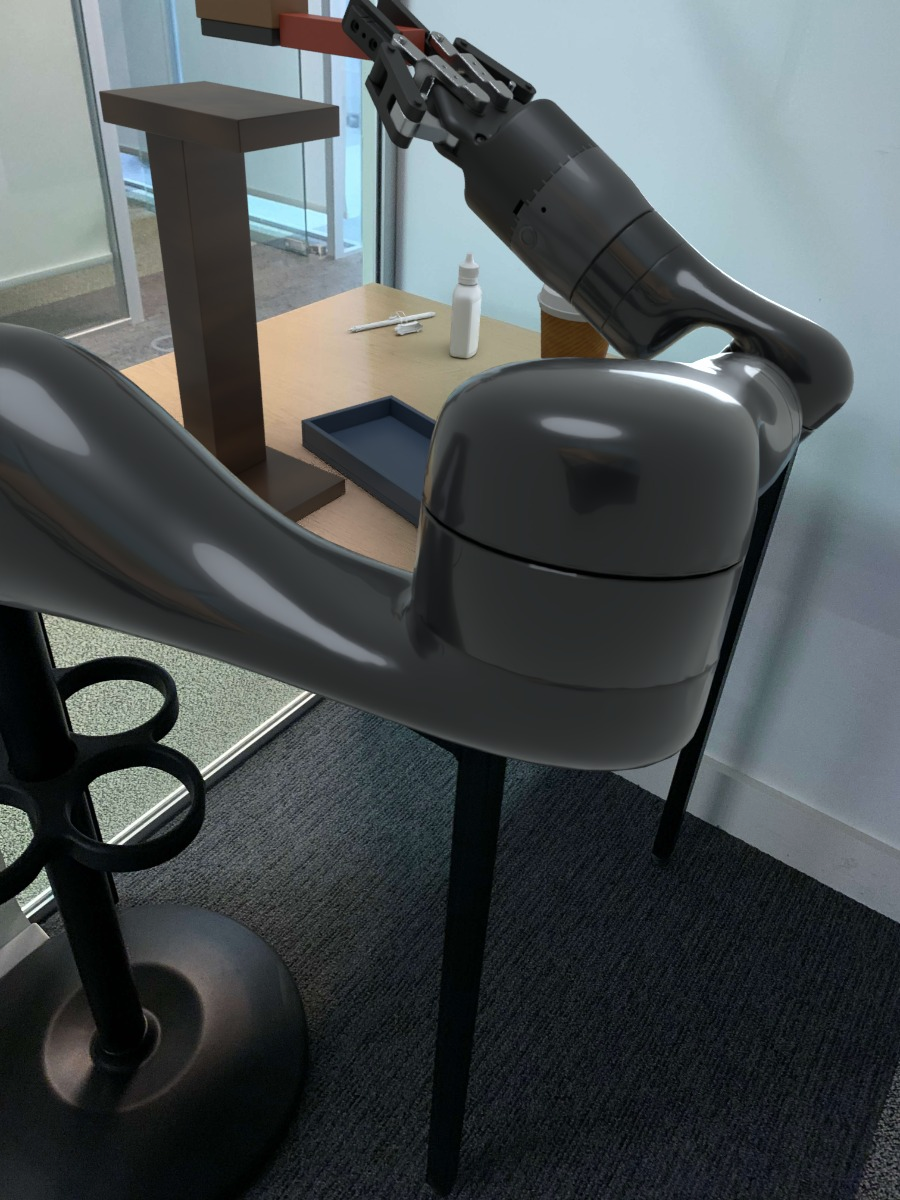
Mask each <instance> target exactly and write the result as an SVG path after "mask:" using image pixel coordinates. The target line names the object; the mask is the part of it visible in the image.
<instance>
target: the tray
mask: <svg viewBox="0 0 900 1200" xmlns="http://www.w3.org/2000/svg"><path fill="white" fill-rule="evenodd" d="M300 423H301V445H302V447H304V448H305V449H307V450H308V451H310V452H311V453H312V454H313V455H315V456H316V457H318V458H319V459H321V460H322V461H323V462H325V463H326V464H328V465H329V466H331V467H332V468H333V469H335V470H337V471H338V472H339V473H340V474H342V475H343V476H344V477H346V478H347V479H349V480H350V481H351V482H353V483H354V484H355V485H356V486H357V485H358V486H359V487H360V488H361V489H363V490H364V491H366V492H367V493H369V494H370V495H372V496H373V497H374V498H375V499H377V500H378V501H379V502H381V503H383V504H384V505H385V506H387V507H388V508H390V509H391V510H393V512H394V513H397V514H398V515H400V516H401V517H402V518H404V519H405V520H406V521H408V522H410V523H411V524H412V525H414V526H415V527H416V528H418V526H419V517H420V508H421V500H422V498H423V497H422V493H423V489H424V476H425V469H426V461H427V455H428V451H429V446H430V441H431V437H432V434H433V430H434V426H435V423H436V420H435V419H433V418H432V417H431V416H428V415H426V414H425V413H423V412H421V410H418V409H417V408H415V407H413V406H411V405H410V404H408V403H406V402H405V401H404V400H401V399H399V398H398V397H396V396H394V395H392V394H390V395H387V396H383V397H380V398H375V399H372V400H368V401H365V402H361V403H358V404H355V405H351V406H347V407H343V408H340V409H337V410H333V411H329V412H326V413H323V414H319V415H316V416H315V415H314V416H312V417H309V418H308V417H307V418H305V419H301V421H300Z"/></svg>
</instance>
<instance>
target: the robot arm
mask: <svg viewBox="0 0 900 1200" xmlns="http://www.w3.org/2000/svg"><path fill="white" fill-rule="evenodd" d="M396 26H402V27H410V28H417V29H424V30H425V42H424V53H423V52H421V51H420V50H419V49H418V48H417V47H416V46H415V45H414V44H413V43H412V42H410V41H409V40H408V39H407V38H406V37H405V36H403V35H402V33H401V32H400V31H399V29H398V28H397V27H396ZM342 29H343V31H344V33H345V34H346V35H347V36H348V37H349V38H350V39H351V40H352V41H353V42H354V43H355V44H356V45H357V46H358V47H359V48H360V49H361V50H362V51H363V52H364V53H365V54H366V55H367V56H368V57H369V58H370V59H371V60H372V61H371V62H372V63H373V64H372V67H371V69H370V72H369V74H368V75H367V77H366V79H365V82H364V86H365V88H366V90H367V92H368V94H369V97H370V99H371V101H372V103H373V105H374V107H375V110H376V111H377V114H378V116H379V118H380V121H381V122H382V125H383V127H384V129H385V131H386V134H387V136H388V137H389V140H390V141H391V143H392V144H393V145H394V146H396V147H398V148H400V149H403V150H407V149H409V147H410V146H411V143H412V141H413V139H414V138H415V139H418V140H423V141H427V142H431V143H432V146H433V147H434V149H435V150H436V152H437V153H438V154H439V155H440V156H441V157H443V158H445V159H446V160H448V161H449V162H451V163H452V164H454V165H455V166H457V168H459V169H461V171H462V173H463V179H464V189H463V197H464V201H465V204H466V205H467V207H468V208H469V209H470V210H471V211H472V212H473V214H475V215H476V217H477V218H479V220H480V221H481V222H482V223H484V225H485V226H486V227H487V228H488V229H490V231H491V232H492V233H493V234H494V235H495V236H496V237H497V238H498V239H499V240H500V241H501V242H502V243H503V244H504V245H505V246H506V248H508V250H510V251H511V252H512V253H513V254H514V255H515V256H516V258H518V259H519V260H520V262H522V263H523V264H524V266H525V267H527V268H528V269H529V270H530V272H532V274H533V275H535V277H537V278H538V280H540V281H541V282H542V283H543V284H546V285H547V286H548V287H549V288H551V289H552V290H553V291H555V292H556V293H557V294H559V295H560V296H561V297H563V298H564V299H565V300H566V301H567V302H568V303H569V304H571V305H572V307H573V308H574V309H575V310H576V311H577V312H578V313H579V314H580V315H581V316H582V317H583V318H584V319H585V320H586V321H587V322H588V323H589V324H590V325H591V326H592V327H593V328H594V329H595V330H596V331H597V332H598V333H599V334H600V335H601V336H602V337H603V338H604V339H605V340H606V341H607V342H608V343H609V347H611V348H612V349H613V350H615V352H617V353H618V354H619V355H620V356H621V357H622V358H616V357H615V358H614V357H605V358H588V357H555V358H541V357H539V358H532V359H525V360H520V361H513V362H508V363H504V364H499V365H497V366H492V367H490V368H488V369H486V370H484V371H481V372H479V373H477V374H475V375H472V376H470V377H469V378H468V379H466V380H464V381H463V382H462V383H460V385H458V386H457V387H455V388H454V390H453V391H452V392H451V393H450V394H449V395H448V396H447V398H446V399H445V400H444V402H443V404H442V406H441V408H440V410H439V412H438V415H437V417H436V420H435V421H436V423H435V426H434V430H433V434H432V437H431V441H430V446H429V451H428V455H427V461H426V469H425V476H424V489H423V493H422V497H423V498H422V500H421V508H420V517H419V526H418V527H417V535H416V545H415V555H414V563H413V571H410V570H408V569H404V568H401V567H398V566H395V565H391V564H388V563H385V562H383V561H381V560H377V559H375V558H372V557H370V556H367V555H366V554H365V555H364V554H362V553H359V552H358V551H355V550H352V549H349V548H348V547H345V546H343V545H340V544H338V543H335V542H332V540H328V539H326V538H324V537H322V536H321V535H319V534H316V533H315V532H314V531H311V530H309V529H307V528H305V527H304V526H302V525H301V524H299V523H298V522H297V521H296V522H294V521H293V520H291V519H290V518H288V517H286V516H285V515H283V514H282V513H281V512H279V511H278V510H276V509H275V508H274V507H272V506H271V505H270V504H268V503H267V502H265V501H264V500H263V499H261V498H260V497H259V496H258V495H257V494H256V493H255V492H253V491H252V490H251V489H250V488H249V487H248V486H246V485H245V484H244V483H243V482H242V481H241V480H239V479H238V478H237V477H236V476H235V475H234V474H233V473H232V472H231V471H230V470H229V469H227V468H226V467H225V466H224V465H223V464H222V463H221V462H220V461H219V460H218V459H217V458H216V457H215V456H214V455H213V454H212V453H210V452H209V451H208V450H207V449H206V448H205V447H204V446H203V445H202V444H201V443H200V442H199V441H198V440H197V439H196V438H195V437H194V436H193V435H191V434H190V433H189V432H188V431H187V430H186V429H185V428H184V425H182V424H181V423H180V422H179V421H178V420H177V418H175V417H174V416H173V415H172V414H170V413H169V411H167V410H166V409H165V408H164V407H163V406H162V405H161V404H159V403H158V402H157V401H156V400H155V399H154V398H152V397H151V396H150V395H149V394H148V393H147V392H145V390H143V389H142V388H141V387H140V386H139V385H138V384H136V383H135V382H134V381H133V380H131V379H130V378H129V377H128V376H126V375H125V374H124V373H123V372H121V371H120V370H119V369H118V368H116V367H115V366H113V365H111V364H110V363H108V362H107V361H105V360H104V359H103V358H101V357H100V356H98V355H97V354H95V353H93V352H92V351H90V350H88V349H87V348H86V347H83V346H81V345H79V344H78V343H77V342H75V341H73V340H71V339H68V338H65V337H63V336H60V335H57V334H54V333H51V332H48V331H45V330H41V329H38V328H35V327H29V326H24V325H19V324H15V323H9V322H1V321H0V605H2V606H7V607H11V608H16V609H21V610H25V611H31V612H35V613H40V614H43V615H47V616H50V617H51V616H52V617H56V618H60V619H64V620H69V621H73V622H77V623H81V624H85V625H88V626H93V627H97V628H100V629H104V630H107V631H112V632H115V633H119V634H122V635H126V636H131V637H133V638H138V639H141V640H146V641H148V642H149V641H150V642H153V643H157V644H162V645H165V646H167V647H171V648H175V649H178V650H181V651H185V652H188V653H192V654H195V655H198V656H201V657H204V658H208V659H211V660H215V661H217V662H221V663H224V664H227V665H230V666H233V667H235V668H239V669H242V670H245V671H248V672H251V673H253V674H257V675H260V676H262V677H265V678H269V679H271V680H274V681H275V682H276V681H277V682H279V683H282V684H285V685H288V686H291V687H293V688H296V689H299V690H301V691H303V692H304V691H305V692H307V693H310V694H313V695H316V696H318V697H321V698H324V699H327V700H329V701H332V702H335V703H338V704H341V705H343V706H346V707H349V708H352V709H355V710H357V711H360V712H363V713H366V714H369V715H371V716H374V717H377V718H380V719H381V720H385V721H388V722H391V723H394V724H396V725H399V726H403V727H405V728H409V729H410V730H414V731H417V732H419V733H423V734H425V735H428V736H431V737H435V738H436V739H437V738H438V739H441V740H443V741H447V742H449V743H451V744H452V743H453V744H454V745H455V744H456V745H458V746H462V747H466V748H468V749H473V750H475V751H480V752H483V753H487V754H490V755H494V756H498V757H502V758H507V759H510V760H514V761H519V762H523V763H527V764H531V765H535V766H541V767H548V768H553V769H560V770H568V771H569V770H570V771H581V772H610V773H612V772H621V771H630V770H639V769H644V768H648V767H651V766H653V765H656V764H658V763H661V762H663V761H666V760H669V759H672V758H673V757H674V756H676V755H677V754H678V753H680V751H682V750H683V749H684V748H685V747H686V746H687V744H689V742H690V741H691V740H692V739H693V737H694V736H695V733H696V732H697V729H698V727H699V725H700V722H701V720H702V717H703V715H704V712H705V708H706V705H707V702H708V698H709V695H710V691H711V687H712V683H713V681H714V676H715V672H716V670H717V667H718V663H719V660H720V658H721V649H722V646H723V643H724V639H725V635H726V633H727V632H726V631H727V628H728V624H729V620H730V617H731V612H732V609H733V605H734V601H735V599H736V595H737V590H738V586H739V584H740V579H741V576H742V573H743V568H744V564H745V560H746V557H747V554H748V551H749V548H750V543H751V540H752V536H753V531H754V527H755V522H756V517H757V513H758V504H759V503H758V502H759V498H760V497H761V496H763V494H765V492H766V491H767V490H768V489H770V487H771V486H773V484H774V483H775V482H776V481H777V479H778V478H779V476H780V475H781V473H782V472H783V471H784V469H785V468H786V466H787V465H788V463H789V462H790V460H791V459H792V457H793V455H794V453H795V451H796V449H797V448H798V446H800V445H802V443H803V442H805V440H806V439H808V438H809V437H810V436H811V435H812V434H813V433H815V431H816V430H818V429H819V428H821V427H822V426H823V425H824V424H825V423H826V422H827V421H828V420H830V419H831V418H832V417H833V416H834V415H836V413H837V412H838V411H839V410H840V409H842V408H843V406H844V405H845V404H846V403H847V402H848V400H849V399H850V397H851V395H852V393H853V391H854V384H855V375H854V369H853V363H852V360H851V357H850V355H849V353H848V351H847V349H846V348H845V347H844V345H843V344H842V343H841V341H840V340H839V338H837V337H836V336H835V335H834V334H833V333H831V332H830V331H829V330H828V329H826V328H825V327H823V326H821V325H820V324H818V323H816V322H814V321H813V320H811V319H809V318H807V317H805V316H804V315H801V314H800V313H797V312H795V311H793V310H791V309H789V308H788V307H785V306H783V305H781V304H779V303H777V302H776V301H773V300H771V299H769V298H767V297H765V296H764V295H762V294H759V293H758V292H756V291H754V290H752V289H751V288H749V287H748V286H746V285H744V284H742V282H741V283H740V282H739V281H737V280H736V279H734V278H733V277H732V276H730V275H728V274H727V273H726V272H724V271H723V270H721V269H720V268H718V267H717V266H716V265H714V263H712V262H711V261H709V260H708V259H707V257H705V256H704V255H702V254H701V252H699V251H698V250H697V249H696V248H695V247H694V246H693V245H692V244H691V243H690V242H689V241H688V240H687V239H686V238H685V237H684V236H683V235H682V234H681V233H680V232H679V231H678V230H676V228H675V227H674V226H673V225H671V223H669V221H668V220H666V219H665V218H664V217H663V216H662V215H661V214H660V212H659V211H658V210H656V208H655V207H654V206H653V205H652V204H651V202H650V201H649V200H648V199H647V197H646V196H645V195H644V194H643V192H642V190H641V189H640V187H639V186H638V185H637V184H636V183H635V182H634V180H633V179H632V178H631V177H630V176H629V175H628V174H627V172H626V171H624V169H622V167H621V166H619V165H618V164H617V163H616V161H614V160H613V159H612V158H611V157H610V156H609V154H608V153H606V152H605V151H604V150H603V149H602V148H601V147H600V146H599V145H598V144H597V143H596V141H594V140H593V139H592V137H590V136H589V135H588V134H587V133H586V132H585V131H584V129H582V128H581V127H580V126H579V125H578V123H576V122H575V121H574V119H572V118H571V117H570V116H569V115H568V114H567V113H566V112H565V111H564V110H563V109H562V108H561V107H560V106H559V105H558V104H557V103H556V102H555V101H553V100H551V99H548V98H538V99H534V98H535V96H536V94H537V89H536V88H535V87H534V85H533V84H532V83H530V82H529V81H527V80H525V79H524V78H522V77H521V76H519V75H518V74H516V73H515V72H513V71H512V70H510V69H509V68H507V67H506V66H504V65H503V64H501V63H500V62H499V61H497V60H496V59H494V58H492V57H491V56H490V55H488V54H487V53H485V52H484V51H482V50H480V49H479V48H477V47H476V46H475V45H474V44H472V43H470V42H469V41H468V40H467V39H465V38H462V37H457V36H456V37H455V38H454V40H453V42H452V43H451V42H450V40H448V39H447V37H446V36H445V35H443V33H441V32H439V31H435V30H432V31H431V30H429V29H428V27H426V26H425V25H424V23H422V22H421V21H420V20H419V19H418V17H416V16H415V15H414V13H412V12H411V10H409V9H408V8H407V7H406V5H405V4H403V3H402V2H401V1H400V0H378V1H377V5H375V4H374V3H373V2H372V1H371V0H348V4H347V6H346V9H345V11H344V14H343V16H342ZM405 61H407V62H409V63H410V64H411V65H406V63H405ZM409 67H412V68H413V69H414V70H413V71H414V75H413V76H412V73H411V71H410V69H409ZM533 99H534V100H533ZM703 328H714V329H717V330H721V331H723V332H724V333H726V334H728V335H729V336H730V337H731V338H732V339H731V341H730V342H729V344H726V346H725V347H724V348H723V349H722V350H721V351H720V352H719V353H717V354H712V355H709V356H706V357H704V358H700V359H698V360H696V361H693V362H691V363H687V362H682V361H681V362H679V361H673V360H657V359H655V358H656V357H658V356H659V355H661V354H663V353H665V352H666V351H667V350H668V349H670V348H671V347H673V346H674V345H675V344H677V343H678V342H680V341H681V340H682V339H684V338H685V337H687V336H688V335H690V334H692V333H693V332H695V331H697V330H700V329H703Z"/></svg>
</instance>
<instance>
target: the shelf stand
mask: <svg viewBox="0 0 900 1200" xmlns="http://www.w3.org/2000/svg"><path fill="white" fill-rule="evenodd" d="M98 95H99V100H100V101H99V102H100V108H101V113H102V114H101V115H102V121H103V123H107V124H110V125H116V126H120V127H123V128H127V129H132V130H137V131H141V132H144V133H145V141H146V149H147V156H148V164H149V165H148V166H149V171H150V179H151V187H152V194H153V202H154V210H155V217H156V224H157V225H156V226H157V232H158V233H157V234H158V239H159V246H160V247H159V248H160V254H161V263H162V271H163V279H164V286H165V293H166V301H167V302H166V303H167V309H168V316H169V323H170V331H171V339H172V346H173V354H174V361H175V368H176V369H175V371H176V377H177V384H178V392H179V401H180V407H181V415H182V422H183V427H184V428H185V429H186V430H187V431H188V432H189V433H190V434H191V435H193V436H194V437H195V438H196V439H197V440H198V441H199V442H200V443H201V444H202V445H203V446H204V447H205V448H206V449H207V450H208V451H209V452H210V453H212V454H213V455H214V456H215V457H216V458H217V459H218V460H219V461H220V462H221V463H222V464H223V465H224V466H225V467H226V468H227V469H229V470H230V471H231V472H232V473H233V474H234V475H235V476H236V477H237V478H238V479H239V480H241V481H242V482H243V483H244V484H245V485H246V486H248V487H249V488H250V489H251V490H252V491H253V492H255V493H256V494H257V495H258V496H259V497H260V498H261V499H263V500H264V501H265V502H267V503H268V504H270V505H271V506H272V507H274V508H275V509H276V510H278V511H279V512H281V513H282V514H283V515H285V516H286V517H288V518H290V519H291V520H293V521H294V522H296V523H297V522H298V521H300V520H301V519H303V518H305V517H307V516H308V515H310V514H312V513H313V512H315V511H317V510H318V509H320V508H322V507H324V506H325V505H328V504H329V503H330V502H332V501H334V500H336V499H337V498H339V497H341V496H342V495H344V494H346V491H347V490H346V478H344V477H342V476H339V475H337V474H335V473H332V472H330V471H328V470H325V469H323V468H320V467H318V466H316V465H313V464H311V463H308V462H306V461H303V460H302V459H299V458H297V457H294V456H292V455H289V454H287V453H286V452H282V451H280V450H277V449H275V448H273V447H270V446H268V445H266V432H265V417H264V404H263V403H264V402H263V390H262V388H263V387H262V375H261V362H260V349H259V334H258V324H257V323H258V322H257V309H256V308H257V307H256V296H255V295H256V294H255V282H254V281H255V280H254V266H253V255H252V240H251V239H252V238H251V226H250V212H249V200H248V199H249V198H248V186H247V171H246V159H245V153H252V152H257V151H263V150H269V149H274V148H281V147H287V146H292V145H298V144H303V143H309V142H314V141H320V140H326V139H327V140H328V139H331V138H337V137H340V136H341V126H340V125H341V123H340V121H341V120H340V119H341V118H340V106H339V105H338V104H337V105H336V104H331V103H327V102H326V103H325V102H322V101H321V102H320V101H315V100H310V99H305V98H299V97H294V96H288V95H282V94H277V93H271V92H266V91H261V90H255V89H249V88H246V87H240V86H234V85H228V84H225V83H224V84H223V83H218V82H212V81H207V80H201V81H200V80H199V81H189V82H178V83H169V84H159V85H147V86H138V87H127V88H116V89H108V90H106V89H105V90H99V91H98Z"/></svg>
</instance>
